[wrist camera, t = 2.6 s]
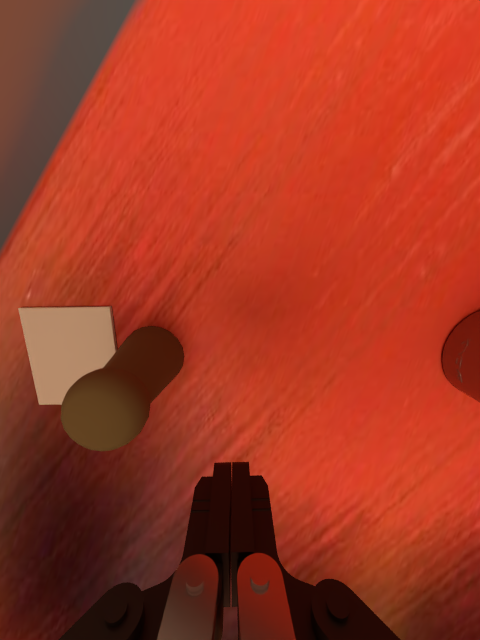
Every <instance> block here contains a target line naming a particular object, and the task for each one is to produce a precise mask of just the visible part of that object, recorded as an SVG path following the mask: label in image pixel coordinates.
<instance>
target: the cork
mask: <svg viewBox="0 0 480 640" xmlns="http://www.w3.org/2000/svg"><path fill="white" fill-rule="evenodd" d="M183 361H184V353H183V348H182V346H181V344H180V342H179V340H178V339H177V338H176V337H175V336H174V335H173V334H172V333H171V332H169V331H167V330H165V329H163V328H160V327H155V326H148V327H142V328H140V329H138V330H135V331H134V332H133V333H132V334H131V335H130V336H129V337H128V338H127V339H126V340H125V341H124V343H123V344H122V345H121V346H120V348H119V349H118V350H117V351H116V352H115V354H114V355H113V356H112V357H111V359H110V360H109V361H108V362H107V364H106V365H105V366H104V367H103V368H100V369H97V370H94V371H92V372H90V373H88V374H86V375H84V376H82V377H81V378H79V379H78V380H77V381H76V382H75V383H74V384H73V385H72V386H71V387H70V388H69V390H68V391H67V393H66V395H65V397H64V399H63V402H62V407H61V421H62V424H63V427H64V429H65V431H66V432H67V434H68V435H69V436H70V438H71V439H73V440H74V441H75V442H76V443H78V444H79V445H81V446H83V447H85V448H88V449H90V450H96V451H108V450H114V449H117V448H119V447H121V446H124V445H126V444H128V443H129V442H130V441H131V440H132V439H134V438H135V437H136V436H137V435H138V434H139V433H140V432H141V430H142V429H143V427H144V425H145V423H146V421H147V419H148V417H149V411H150V403H151V402H152V401H153V400H154V399H155V398H156V397H157V396H158V395H159V394H160V393H161V391H162V390H163V389H164V388H165V387H166V386H167V385H168V384H169V383H170V382H171V381H172V380H173V378H174V377H175V376H176V375H177V374H178V373H179V371H180V369H181V368H182V366H183Z"/></svg>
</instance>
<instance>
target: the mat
mask: <svg viewBox="0 0 480 640" xmlns="http://www.w3.org/2000/svg"><path fill="white" fill-rule="evenodd" d="M18 309H19V314H20V318H21V323H22V327H23V332H24V337H25V341H26V346H27V351H28V355H29V360H30V364H31V369H32V374H33V378H34V383H35V388H36V392H37V397H38V402H39V404H62V402H63V399H64V397H65V395H66V393H67V391H68V390H69V388H70V387H71V386H72V385H73V384H74V383H75V382H76V381H77V380H78V379H79V378H81V377H82V376H84V375H86V374H88V373H90V372H92V371H94V370H97V369H100V368H103V367H104V366H105V365H106V364H107V362H108V361H109V360H110V359H111V357H112V356H113V355H114V354H115V352H116V351H117V344H116V336H115V328H114V321H113V313H112V306H94V307H21V308H18Z"/></svg>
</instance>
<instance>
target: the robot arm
mask: <svg viewBox="0 0 480 640" xmlns="http://www.w3.org/2000/svg"><path fill="white" fill-rule="evenodd" d="M442 364H443V370H444V373H445V375H446V377H447V379H448V380H449V381H450V383H451V384H452V385H453V386H455V387H456V388H457V389H459V390H460V391H462V392H464V393H465V394H467V395H469V396H470V397H472V398H474V399H475V400H477V401H478V402H480V311H477V312H475V313H473V314H472V315H470V316H468V317H467V318H465V319H464V320H463V321H462V322H461V323H460V324H458V325H457V326H456V328H455V329H454V330H453V332H452V333H451V334H450V336H449V338H448V340H447V342H446V343H445V347H444V350H443V357H442ZM230 582H232V607H236V606H238V640H400V639H399V638H398V637H397V636H396V635H395V634H394V633H393V632H392V631H391V630H390V629H389V628H388V627H387V626H386V625H385V624H384V623H383V622H382V621H381V620H380V619H379V618H378V616H377V615H376V614H375V613H374V612H373V611H372V610H371V609H370V608H369V607H368V606H367V605H366V604H365V603H364V602H363V601H362V600H361V599H360V598H359V597H358V596H357V595H356V594H355V593H354V592H353V591H352V590H351V589H350V588H349V587H347V586H346V585H345V584H343V583H342V582H340V581H338V580H334V579H325V580H322V581H320V582H319V583H318V584H317V585H316V586H313V585H310V584H308V583H305V582H302V581H300V580H298V579H296V578H294V577H293V576H291V575H290V574H289V573H288V572H287V571H286V570H285V569H284V567H283V566H282V564H281V563H280V561H279V558H278V555H277V549H276V542H275V534H274V527H273V520H272V512H271V505H270V498H269V491H268V485H267V484H266V482H265V480H264V479H263V477H262V475H260V476H250V472H249V462H232V477H231V462H225V463H214V472H213V477H201V479H200V480H199V482H198V484H197V485H196V487H195V490H194V496H193V502H192V507H191V513H190V518H189V524H188V530H187V535H186V541H185V547H184V552H183V557H182V560H181V562H180V564H179V566H178V568H177V569H176V571H175V572H174V573H173V574H172V575H171V576H170V577H169V578H168V579H167V580H165V581H164V582H162V583H160V584H158V585H156V586H153V587H151V588H149V589H146V590H144V591H141V590H140V588H139V587H138V586H137V585H135V584H133V583H121V584H118V585H116V586H114V587H113V588H111V589H110V590H108V591H107V592H106V593H105V594H104V595H103V596H102V597H101V598H100V599H99V600H98V601H97V602H96V603H95V604H94V605H93V606H92V607H91V608H90V609H89V610H88V611H87V612H86V613H85V614H84V615H83V616H82V617H81V618H80V619H79V620H78V621H77V622H76V623H75V624H74V625H73V626H72V627H71V628H70V629H69V630H68V631H67V632H66V633H65V634H64V635H63V636H62V637H61V638H60V639H59V640H221V638H222V632H223V608H224V607H230Z"/></svg>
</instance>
